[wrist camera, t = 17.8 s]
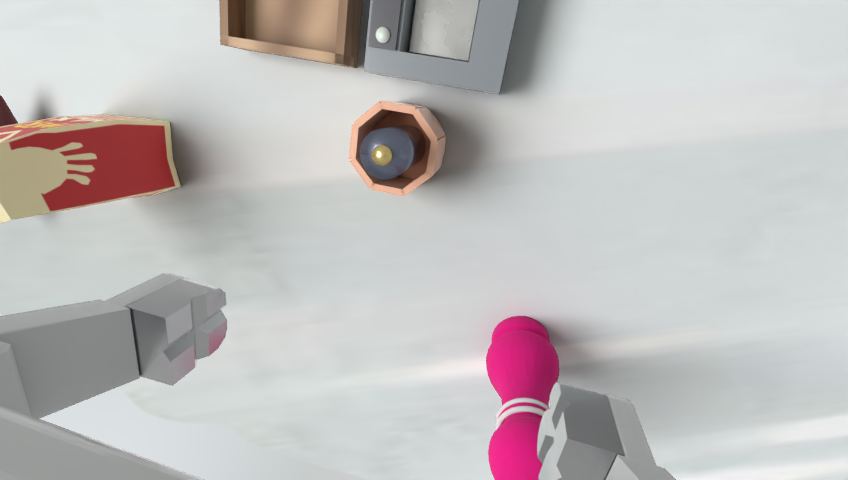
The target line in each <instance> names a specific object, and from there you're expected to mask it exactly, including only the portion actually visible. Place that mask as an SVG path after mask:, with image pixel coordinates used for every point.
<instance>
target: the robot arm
mask: <svg viewBox="0 0 848 480" xmlns="http://www.w3.org/2000/svg"><path fill="white" fill-rule="evenodd" d="M225 305H226V295H225V292H224V291H223V290H222V289H220V288H217V287H214V286H211V285H208V284H204V283H201V282H198V281H194V280H191V279H188V278H184V277H181V276H177V275H173V274H161V275H159V276H157V277H155V278H152V279H150V280H148V281H146V282H144V283H142V284H140V285H138V286H136V287H134V288H131V289H129V290H127V291H125V292H123V293H121V294H119V295H117V296H115V297H113V298H110V299H108V300H106V301H103V300H94V301H88V302H82V303H76V304H70V305H64V306H58V307H52V308H46V309H40V310H34V311H29V312H23V313H17V314H11V315H5V316H0V480H203V479H201V478H198V477H195V476H193V475H190V474H187V473H184V472H182V471H179V470H176V469H173V468H171V467H168V466H165V465H163V464H160V463H157V462H155V461H152V460H149V459H147V458H144V457H141V456H138V455H136V454H133V453H130V452H128V451H125V450H122V449H119V448H117V447H114V446H111V445H108V444H106V443H103V442H100V441H98V440H95V439H92V438H90V437H87V436H84V435H81V434H79V433H76V432H73V431H70V430H68V429H65V428H62V427H59V426H57V425H54V424H52V423H49V422H46V421H43V420H41V419H39V418H42V417H44V416H47V415H49V414H52V413H54V412H57V411H59V410H62V409H64V408H67V407H69V406H72V405H74V404H76V403H79V402H81V401H84V400H86V399H89V398H91V397H94V396H96V395H98V394H101V393H104V392H106V391H109V390H111V389H114V388H116V387H119V386H121V385H124V384H126V383H129V382H131V381H133V380H136V379H138V378H140V376H141V377H145V378H148V379H152V380H155V381H158V382H162V383H165V384H169V385H172V386H173V385H174V384H175V383H177V382H178V381H179V380H180V379H181V378H183V377H184V376H185V375H186V374H188V373H189V372H190V371H191V370H193V369H194V368H195V366H196V361H197V359H200V358H204V357H207V356H210V355H211V354H212V353H213V352H214V351H215V350H217V349H218V348H219V346H220V344H221V343H222V341H223V340H224V338H225V335H226V331H227V319H226V317H225V316H224V314H223V313H222V311H221V310H222V309H223V308H224V307H225ZM550 407H551V408H550V409H548V410H546V411H545V412H544V413H543V417H542V420H541V423H540V428H539V433H538V442H537V454H538V459H539V460H540V461H541V463H542V464H543V465H542V468H541V471H540V473H539V480H676V479H675V478H674V477H673V476H672V475H671V474H670V473H669V472H668V471H667V470H666V469H664V468H661V467H658V466H656V463H655V460H654V458H653V455H652V453H651V450H650V447H649V445H648V442H647V439H646V437H645V434H644V432H643V429H642V426H641V424H640V421H639V419H638V416H637V413H636V411H635V408H634V406H633V404H632V403H631V402H630V401H629V400H626V399H622V398H618V397H614V396H610V395H606V394H604V395H603V394H599V393H595V392H591V391H588V390H584V389H580V388H577V387H573V386H569V385H566V384H562V383H558V382H556V383H555V385H554V386H553V388H552V391H551V394H550Z"/></svg>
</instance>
